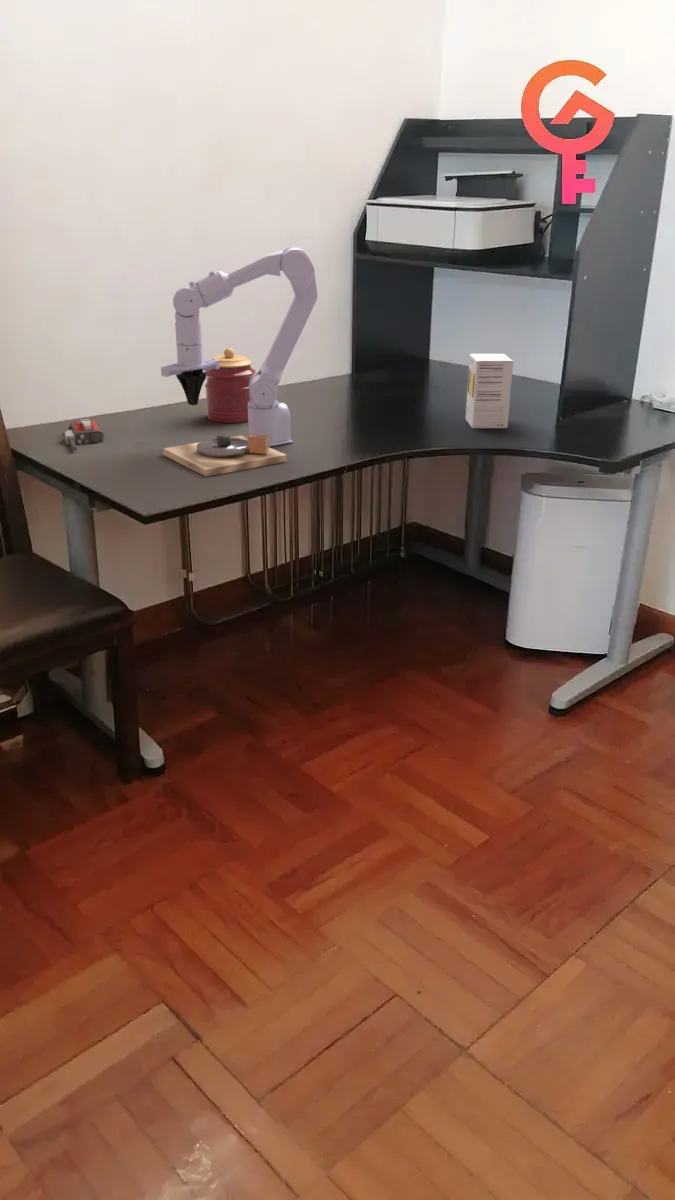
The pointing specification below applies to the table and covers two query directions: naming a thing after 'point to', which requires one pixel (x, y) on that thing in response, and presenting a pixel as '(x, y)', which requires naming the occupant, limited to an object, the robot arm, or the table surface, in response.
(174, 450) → the base plate
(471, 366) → the supplement box
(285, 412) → the robot arm
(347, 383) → the table surface
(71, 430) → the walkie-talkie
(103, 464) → the table surface
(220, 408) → the canister
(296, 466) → the table surface
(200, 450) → the flange
